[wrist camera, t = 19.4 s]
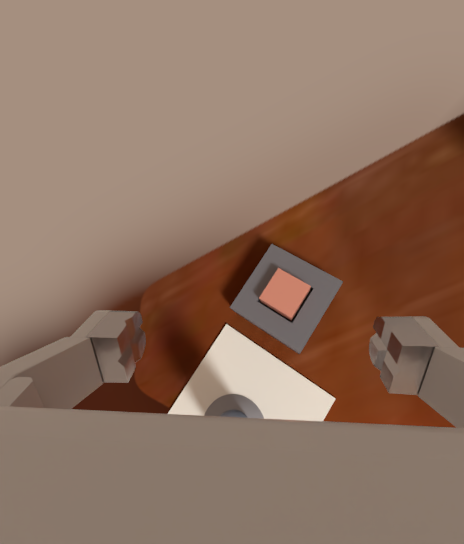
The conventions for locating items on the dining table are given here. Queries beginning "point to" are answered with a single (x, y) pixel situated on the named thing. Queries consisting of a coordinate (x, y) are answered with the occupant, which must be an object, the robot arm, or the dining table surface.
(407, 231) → the dining table surface
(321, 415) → the paper sheet
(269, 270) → the button housing
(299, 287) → the button
